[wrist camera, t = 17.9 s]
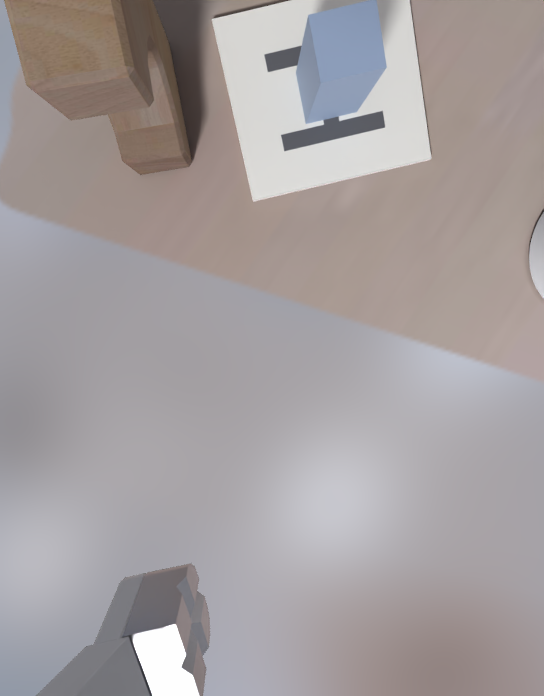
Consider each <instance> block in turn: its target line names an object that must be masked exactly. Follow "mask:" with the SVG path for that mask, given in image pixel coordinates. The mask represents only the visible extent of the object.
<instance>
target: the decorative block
mask: <svg viewBox="0 0 544 696" xmlns="http://www.w3.org/2000/svg"><path fill="white" fill-rule="evenodd" d="M4 1H5V5H6V9H7V13H8V17H9V20H10V24H11V28H12V32H13V36H14V39H15V43H16V47H17V51H18V54H19V58H20V62H21V66H22V70H23V74H24V78H25V81H26V85H27V86H28V87H29V88H30V89H31V90H33V91H34V92H35V93H37V94H38V95H39V96H40V97H42V98H43V99H44V100H45V101H47V102H48V103H49V104H51V105H52V106H53V107H54V108H56V109H57V110H58V111H60V112H61V113H62V114H63V115H65V116H66V117H67V118H68V119H70V120H77V119H83V118H89V117H95V116H101V115H107V114H108V116H109V119H110V121H111V124H112V127H113V130H114V132H115V136H116V139H117V143H118V147H119V150H120V154H121V158H122V161H123V162H124V163H126V164H127V165H128V166H130V167H131V168H132V169H133V170H135V171H136V172H137V173H139V174H140V175H142V174H148V173H154V172H160V171H166V170H172V169H178V168H184V167H189V166H190V165H191V163H192V160H191V154H190V149H189V144H188V139H187V133H186V128H185V123H184V118H183V112H182V107H181V102H180V97H179V92H178V86H177V81H176V76H175V71H174V66H173V60H172V55H171V50H170V45H169V42H168V39H167V36H166V34H165V31H164V29H163V26H162V23H161V21H160V18H159V16H158V13H157V10H156V8H155V5H154V3H153V0H4Z"/></svg>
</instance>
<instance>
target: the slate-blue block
mask: <svg viewBox="0 0 544 696" xmlns="http://www.w3.org/2000/svg"><path fill="white" fill-rule="evenodd" d="M386 68H387V66H386V59H385V52H384V46H383V39H382V33H381V26H380V20H379V13H378V7H377V0H368V1H364V2H360V3H356V4H352V5H347V6H343V7H339V8H335V9H331V10H327V11H322V12H318V13H314V14H310V15H308V18H307V23H306V28H305V32H304V37H303V42H302V46H301V51H300V56H299V60H298V65H297V70H296V76H297V82H298V87H299V92H300V97H301V102H302V107H303V112H304V117H305V123H306V124H309V123H313V122H317V121H321V120H326V119H330V118H334V117H338V116H342V115H347V114H351V113H355V112H357V111H358V110H359V108H360V107H361V105H362V104H363V102H364V101H365V99H366V98H367V96H368V95H369V93H370V92H371V90H372V89H373V87H374V86H375V84H376V83H377V81H378V80H379V78H380V77H381V75H382V74H383V72H384V71H385V69H386Z"/></svg>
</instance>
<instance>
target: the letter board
mask: <svg viewBox="0 0 544 696" xmlns="http://www.w3.org/2000/svg"><path fill="white" fill-rule="evenodd" d="M364 1H368V0H290V1H286V2H282V3H277V4H273V5H269V6H265V7H261V8H257V9H252V10H248V11H244V12H240V13H236V14H231V15H227V16H223V17H219V18H215V19H212V23H213V28H214V32H215V37H216V41H217V45H218V50H219V54H220V58H221V63H222V67H223V72H224V76H225V80H226V85H227V89H228V94H229V98H230V102H231V107H232V111H233V116H234V120H235V124H236V129H237V133H238V137H239V142H240V146H241V151H242V155H243V159H244V164H245V168H246V173H247V177H248V181H249V186H250V190H251V195H252V199H253V202H254V201H258V200H263V199H267V198H271V197H275V196H280V195H284V194H288V193H292V192H296V191H301V190H305V189H309V188H313V187H318V186H322V185H326V184H330V183H335V182H339V181H343V180H347V179H351V178H356V177H360V176H364V175H368V174H373V173H377V172H381V171H385V170H390V169H394V168H398V167H402V166H406V165H411V164H415V163H419V162H423V161H428V160H430V159H431V152H430V145H429V138H428V130H427V123H426V116H425V109H424V101H423V94H422V87H421V80H420V72H419V65H418V58H417V50H416V43H415V36H414V29H413V21H412V14H411V7H410V0H377V7H378V13H379V20H380V26H381V33H382V39H383V46H384V52H385V59H386V66H387V68H386V69H385V71H384V72H383V74H382V75H381V77H380V78H379V80H378V81H377V83H376V84H375V86H374V87H373V89H372V90H371V92H370V93H369V95H368V96H367V98H366V99H365V101H364V102H363V104H362V105H361V107H360V108H359V110H358V111H357V112H355V113H351V114H347V115H342V116H338V117H334V118H330V119H326V120H321V121H317V122H313V123H309V124H306V123H305V117H304V112H303V107H302V102H301V97H300V92H299V87H298V82H297V76H296V70H297V65H298V60H299V56H300V51H301V46H302V42H303V37H304V32H305V28H306V23H307V18H308V15H310V14H314V13H318V12H322V11H327V10H331V9H335V8H339V7H343V6H347V5H352V4H356V3H360V2H364Z"/></svg>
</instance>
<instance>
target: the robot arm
mask: <svg viewBox="0 0 544 696" xmlns="http://www.w3.org/2000/svg"><path fill="white" fill-rule="evenodd" d="M529 265H530V271H531V276H532V279H533V282H534V284H535V286H536V288H537V290H538V292H539V293H540V295H541V296H542V297H543V299H544V212H543V214H542V215H541V217H540V219H539V221H538V223H537V225H536V227H535V230H534V232H533V236H532V239H531V244H530V251H529ZM198 582H199V577H198V574H197V572H196V569H195V566H194V565H192V564H186V565H181V566H176V567H172V568H167V569H162V570H157V571H152V572H148V573H143V574H139V575H134V576H130V577H125V578H124V579H123V580H122V581H121V582H120V583H119V586H118V588H117V591H116V593H115V596H114V598H113V600H112V602H111V605H110V607H109V609H108V612H107V614H106V616H105V619H104V621H103V623H102V626H101V628H100V630H99V633H98V635H97V637H96V640H95V642H94V644H93V645H90V646H86V647H85V648H84V649H83V650H82V651H81V652H80V653H79V654H78V655H77V656H76V657H75V658H74V659H73V660H72V661H71V662H70V663H69V664H68V665H67V666H66V667H65V668H64V669H63V670H62V671H61V672H59V674H57V676H55V678H54V679H52V680H51V681H50V682H49V684H47V685H46V686H45V687H44V688H43V689H42V690H41V691H40V692H39V693H38V694H37V695H36V696H203V691H204V683H205V675H206V666H205V663H204V660H203V655H204V653H205V652H206V651H207V649H208V647H209V641H210V618H209V612H208V607H207V603H206V600H205V597H204V596H203V595H202V594H201V593H199V592H198V591H197V589H198Z"/></svg>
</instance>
